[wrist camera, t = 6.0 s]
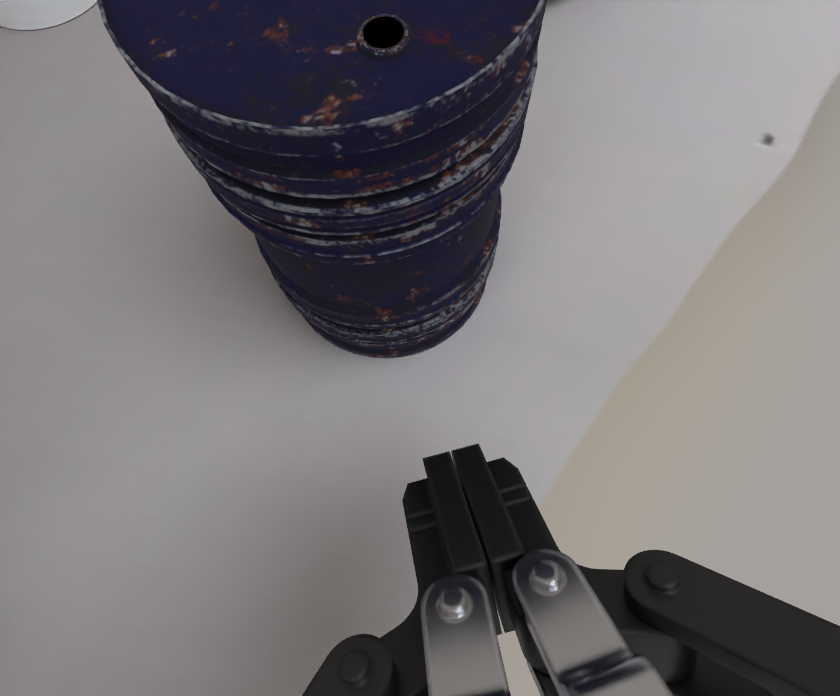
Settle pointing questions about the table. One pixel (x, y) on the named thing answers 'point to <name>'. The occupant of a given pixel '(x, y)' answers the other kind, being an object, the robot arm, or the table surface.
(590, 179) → the table surface
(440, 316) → the navy blue cylinder
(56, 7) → the bracket
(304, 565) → the table surface
